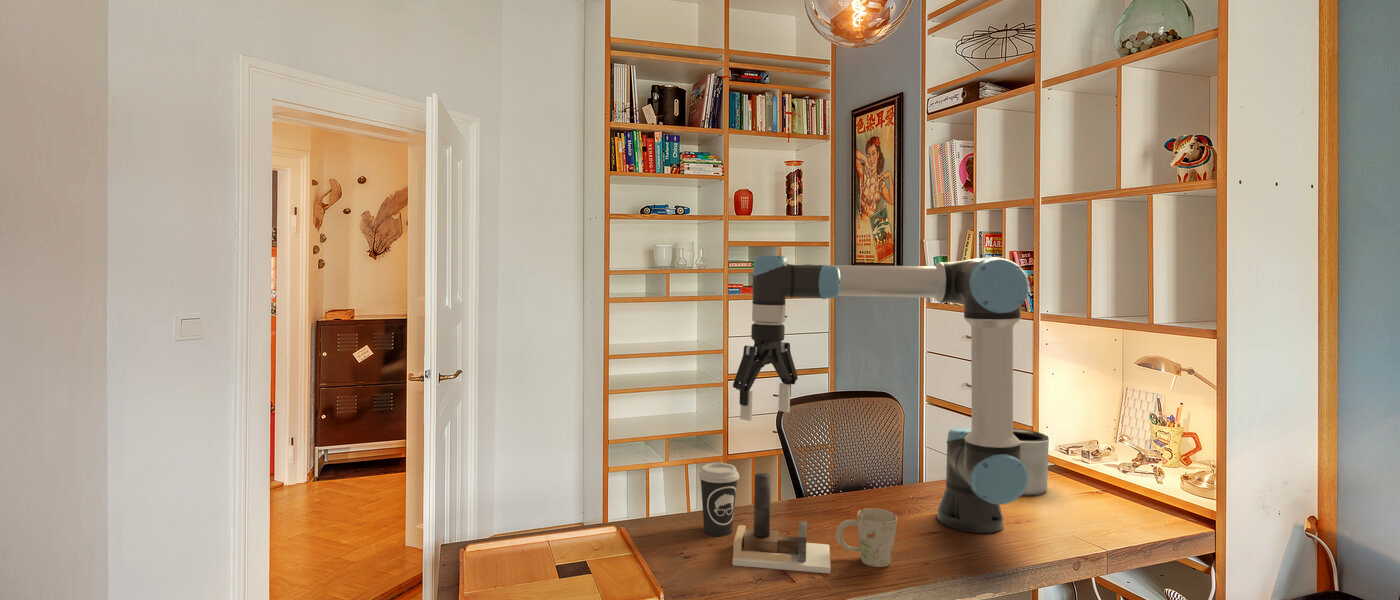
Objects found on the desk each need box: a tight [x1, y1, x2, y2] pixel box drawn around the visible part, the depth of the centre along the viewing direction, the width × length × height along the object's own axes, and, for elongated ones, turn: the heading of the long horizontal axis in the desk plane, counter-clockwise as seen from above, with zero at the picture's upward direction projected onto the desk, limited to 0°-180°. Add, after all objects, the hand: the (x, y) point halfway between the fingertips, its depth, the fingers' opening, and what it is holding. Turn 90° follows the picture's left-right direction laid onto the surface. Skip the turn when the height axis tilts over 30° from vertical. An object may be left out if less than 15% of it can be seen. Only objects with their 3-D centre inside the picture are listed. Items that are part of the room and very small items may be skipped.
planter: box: [1013, 427, 1050, 496], centre depth 199 cm, size 16×16×16 cm
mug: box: [835, 507, 898, 568], centre depth 149 cm, size 8×13×10 cm, turn 78°
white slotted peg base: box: [732, 524, 832, 574], centre depth 150 cm, size 20×12×4 cm, turn 81°
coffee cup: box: [698, 462, 740, 537], centre depth 164 cm, size 10×10×15 cm
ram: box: [744, 472, 808, 561], centre depth 150 cm, size 13×9×16 cm
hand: (765, 415), depth 161 cm, fingers open, 13 cm apart
